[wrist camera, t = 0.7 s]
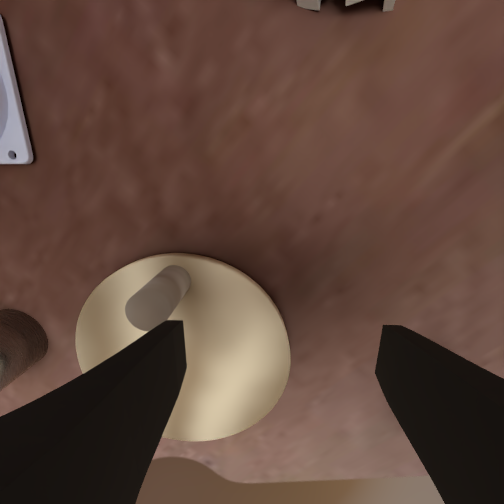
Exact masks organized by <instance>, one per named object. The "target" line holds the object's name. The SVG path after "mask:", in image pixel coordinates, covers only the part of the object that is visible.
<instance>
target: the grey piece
mask: <svg viewBox="0 0 504 504" xmlns="http://www.w3.org/2000/svg"><path fill="white" fill-rule="evenodd" d="M296 1H297V6H300V7H302V8H305V9H311V10H320V3H321V0H296ZM360 1H363V0H346V6H348V5H351V4H354V3H357V2H360ZM394 3H395V0H384V6H383V12H385V11H392V10H393V7H394Z"/></svg>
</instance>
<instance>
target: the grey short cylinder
mask: <svg viewBox="0 0 504 504" xmlns="http://www.w3.org/2000/svg"><path fill="white" fill-rule="evenodd" d="M47 349H48V339H47V336H46V333H45V331H44V330H43V328H42V327H41V325H40V324H39V323H38V322H37V321H36V320H35V319H33V318H32V317H31V316H29V315H27V314H25V313H23V312H21V311H17V310H12V309H3V310H0V391H1V390H2V389H4V388H5V387H6V386H8V385H9V384H10V383H11V382H13V381H14V380H15V379H16V378H18V377H19V376H20V375H21V374H23V373H24V372H25V371H26V370H28V369H29V368H30V367H31V366H33V365H34V364H35V363H36V362H38V361H39V360H40V359H41V358H43V357H44V355H45V354H46V352H47Z"/></svg>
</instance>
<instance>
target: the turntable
mask: <svg viewBox="0 0 504 504" xmlns="http://www.w3.org/2000/svg"><path fill="white" fill-rule="evenodd" d="M166 320H183V325H184V337H185V349H186V361H187V369H186V373H185V376H184V380H183V383H182V387H181V390H180V393H179V396H178V399H177V401H176V404H175V406H174V408H173V411H172V413H171V416H170V418H169V420H168V423H167V425H166V427H165V430H164V432H163V435H162V437H164V438H169V439H174V440H182V441H207V440H215V439H220V438H224V437H228V436H231V435H234V434H237V433H239V432H241V431H243V430H245V429H247V428H249V427H251V426H252V425H254V424H255V423H257V422H258V421H260V420H261V419H262V418H263V417H264V416H266V415H267V414H268V413H269V412H270V410H271V409H272V408H273V407H274V406H275V404H276V403H277V402H278V400H279V399H280V397H281V395H282V393H283V391H284V389H285V387H286V384H287V380H288V377H289V372H290V364H291V359H290V347H289V341H288V335H287V330H286V327H285V324H284V321H283V318H282V316H281V314H280V312H279V310H278V308H277V306H276V305H275V304H274V302H273V301H272V299H271V298H270V296H269V295H268V294H267V293H266V292H265V291H264V290H263V289H262V288H261V287H260V285H258V284H257V283H256V282H255V281H254V280H252V279H251V278H250V277H249V276H247V275H246V274H244V273H243V272H241V271H240V270H238V269H236V268H234V267H232V266H230V265H228V264H226V263H224V262H222V261H219V260H216V259H213V258H210V257H206V256H201V255H196V254H187V253H166V254H159V255H154V256H149V257H146V258H143V259H140V260H137V261H135V262H133V263H131V264H129V265H126V266H124V267H123V268H121V269H119V270H118V271H116V272H115V273H113V274H112V275H110V276H109V277H107V278H106V279H105V280H103V281H102V282H101V283H100V284H99V285H98V286H97V287H96V288H95V289H94V291H93V292H92V293H91V294H90V296H89V297H88V298H87V300H86V302H85V304H84V306H83V308H82V310H81V312H80V315H79V319H78V322H77V328H76V351H77V358H78V361H79V364H80V368H81V370H82V372H83V374H84V373H86V372H87V371H89V370H90V369H92V368H94V367H95V366H97V365H98V364H100V363H102V362H103V361H105V360H106V359H108V358H110V357H111V356H113V355H114V354H116V353H118V352H119V351H121V350H122V349H124V348H125V347H127V346H128V345H130V344H131V343H133V342H134V341H136V340H137V339H139V338H140V337H141V336H143V335H144V334H146V333H147V332H149V331H150V330H152V329H153V328H155V327H156V326H158V325H159V324H161V323H162V322H164V321H166Z"/></svg>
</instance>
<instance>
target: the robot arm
mask: <svg viewBox="0 0 504 504" xmlns="http://www.w3.org/2000/svg"><path fill="white" fill-rule="evenodd" d="M14 153H16V158H15V156H14ZM32 161H33V153H32V148H31V144H30V140H29V135H28V131H27V126H26V122H25V118H24V113H23V109H22V104H21V100H20V95H19V91H18V87H17V82H16V78H15V73H14V69H13V64H12V60H11V56H10V51H9V47H8V42H7V38H6V33H5V29H4V25H3V20H2V17H1V15H0V164H30V163H31V162H32ZM186 369H187V361H186V349H185V337H184V325H183V320H166V321H164V322H162V323H161V324H159V325H158V326H156V327H155V328H153V329H152V330H150V331H149V332H147V333H146V334H144V335H143V336H141V337H140V338H139V339H137V340H136V341H134V342H133V343H131V344H130V345H128V346H127V347H125V348H124V349H122V350H121V351H119V352H118V353H116V354H114V355H113V356H111V357H110V358H108V359H106V360H105V361H103V362H102V363H100V364H98V365H97V366H95V367H94V368H92V369H90V370H89V371H87V372H86V373H84V374H82V375H80V376H79V377H77V378H75V379H73V380H72V381H70V382H68V383H66V384H65V385H63V386H61V387H59V388H57V389H55V390H53V391H52V392H50V393H48V394H46V395H44V396H42V397H40V398H38V399H36V400H34V401H32V402H30V403H28V404H26V405H24V406H22V407H20V408H18V409H16V410H14V411H12V412H10V413H7V414H5V415H3V416H1V417H0V504H135V503H136V500H137V497H138V494H139V491H140V488H141V485H142V483H143V480H144V477H145V475H146V472H147V470H148V468H149V465H150V463H151V460H152V458H153V456H154V453H155V451H156V449H157V446H158V444H159V442H160V439H161V437H162V435H163V432H164V430H165V427H166V425H167V423H168V420H169V418H170V416H171V413H172V411H173V408H174V406H175V404H176V401H177V399H178V396H179V393H180V390H181V387H182V383H183V380H184V376H185V373H186ZM375 374H376V377H377V379H378V381H379V384H380V386H381V389H382V391H383V393H384V396H385V398H386V400H387V402H388V404H389V406H390V408H391V409H392V411H393V413H394V415H395V417H396V418H397V420H398V422H399V424H400V425H401V427H402V429H403V431H404V432H405V434H406V436H407V437H408V439H409V441H410V443H411V444H412V446H413V448H414V450H415V451H416V453H417V455H418V456H419V458H420V460H421V462H422V463H423V465H424V467H425V469H426V470H427V472H428V474H429V475H430V477H431V479H432V481H433V482H434V484H435V486H436V488H437V490H438V492H439V493H440V495H441V497H442V499H443V501H444V503H445V504H504V379H503V378H501V377H499V376H497V375H495V374H493V373H491V372H489V371H487V370H485V369H483V368H481V367H479V366H478V365H476V364H474V363H472V362H470V361H468V360H466V359H464V358H463V357H461V356H459V355H457V354H455V353H453V352H451V351H450V350H448V349H446V348H444V347H442V346H440V345H439V344H437V343H435V342H433V341H431V340H429V339H427V338H426V337H424V336H422V335H420V334H418V333H416V332H414V331H412V330H410V329H408V328H406V327H403V326H401V325H383V329H382V334H381V340H380V346H379V352H378V358H377V364H376V369H375Z"/></svg>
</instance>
